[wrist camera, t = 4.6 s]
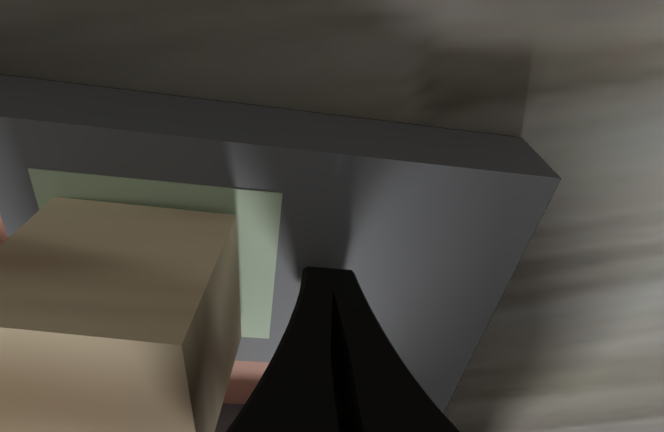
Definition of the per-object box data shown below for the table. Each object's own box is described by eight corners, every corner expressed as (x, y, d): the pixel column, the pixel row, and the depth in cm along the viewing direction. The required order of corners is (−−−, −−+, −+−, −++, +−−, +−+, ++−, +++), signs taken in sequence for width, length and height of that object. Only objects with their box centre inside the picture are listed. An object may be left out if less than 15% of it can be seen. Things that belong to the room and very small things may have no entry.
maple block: (241, 336, 13) (202, 474, 10) (94, 322, 13) (6, 454, 10) (236, 215, 11) (181, 345, 7) (54, 196, 11) (-82, 319, 7)
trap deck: (405, 417, 21) (415, 470, 19) (-60, 398, 19) (-106, 457, 17) (521, 137, 13) (561, 179, 11) (-277, 40, 11) (-419, 71, 9)
